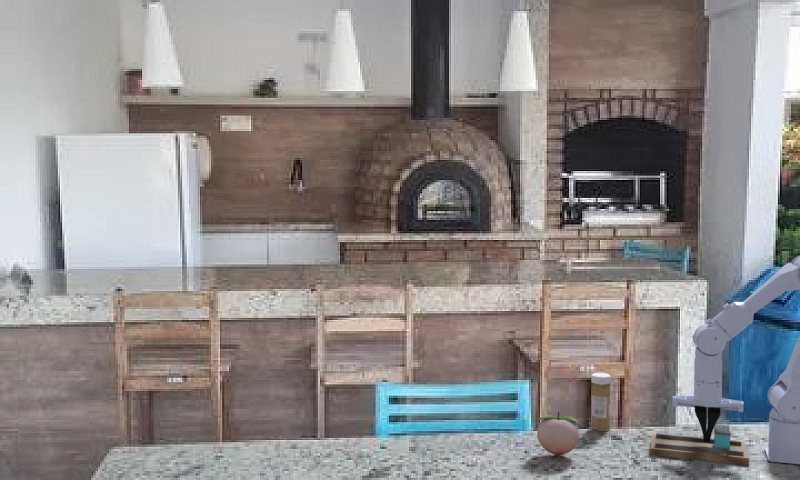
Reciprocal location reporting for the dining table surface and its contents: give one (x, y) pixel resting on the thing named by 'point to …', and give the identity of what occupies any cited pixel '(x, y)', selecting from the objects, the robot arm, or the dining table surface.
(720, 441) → the fader tab
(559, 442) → the decorative fruit
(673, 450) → the fader console
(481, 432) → the dining table surface
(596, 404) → the sprinkles bottle
